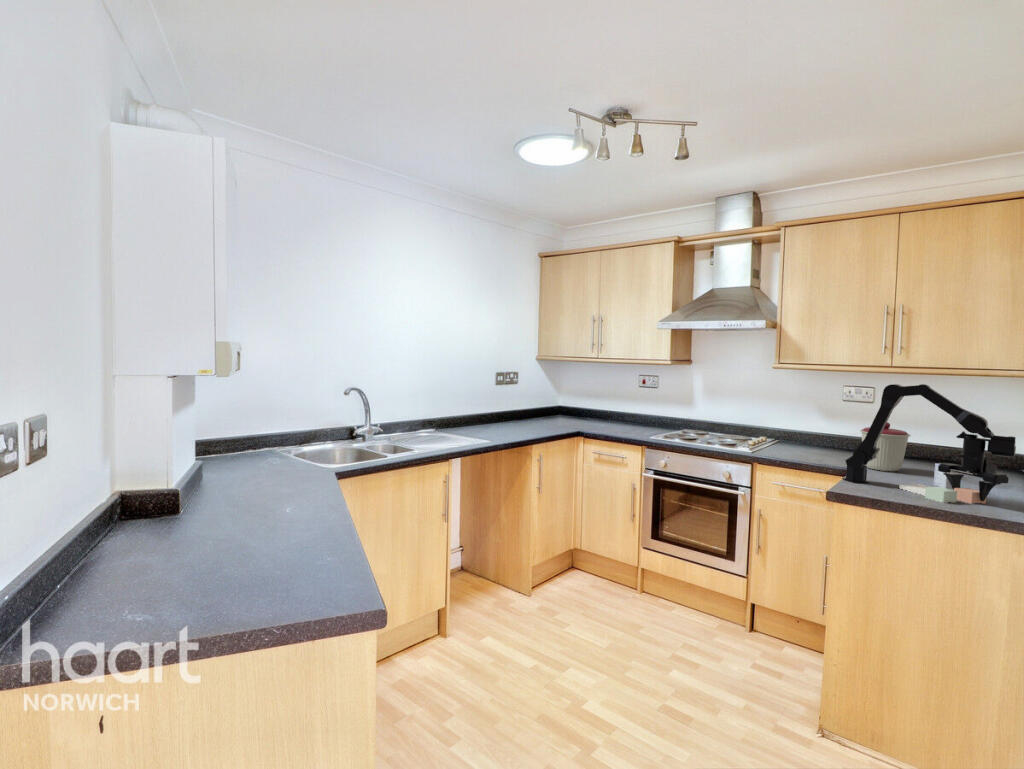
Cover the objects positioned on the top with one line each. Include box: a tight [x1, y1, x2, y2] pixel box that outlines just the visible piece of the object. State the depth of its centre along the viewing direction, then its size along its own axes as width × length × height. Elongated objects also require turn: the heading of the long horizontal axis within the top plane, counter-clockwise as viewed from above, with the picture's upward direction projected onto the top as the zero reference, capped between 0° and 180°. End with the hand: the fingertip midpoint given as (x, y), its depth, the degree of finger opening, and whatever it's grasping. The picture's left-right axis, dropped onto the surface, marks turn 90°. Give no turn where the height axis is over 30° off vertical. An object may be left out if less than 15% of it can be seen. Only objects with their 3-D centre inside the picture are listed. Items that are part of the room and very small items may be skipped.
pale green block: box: [924, 486, 958, 504], centre depth 180 cm, size 6×6×4 cm
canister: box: [859, 421, 911, 473], centre depth 231 cm, size 18×18×21 cm
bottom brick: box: [954, 487, 987, 504], centre depth 180 cm, size 6×6×4 cm
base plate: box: [898, 483, 930, 497], centre depth 191 cm, size 10×10×2 cm
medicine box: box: [933, 463, 961, 490], centre depth 199 cm, size 8×4×9 cm, turn 168°
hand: (969, 497), depth 180 cm, fingers open, 8 cm apart
